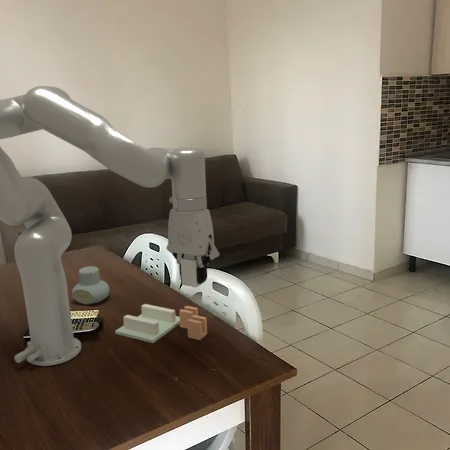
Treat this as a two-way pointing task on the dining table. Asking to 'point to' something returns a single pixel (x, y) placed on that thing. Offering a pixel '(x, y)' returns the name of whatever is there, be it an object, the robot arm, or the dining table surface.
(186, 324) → the clips
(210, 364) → the dining table surface
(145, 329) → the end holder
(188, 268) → the block
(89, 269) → the air freshener
